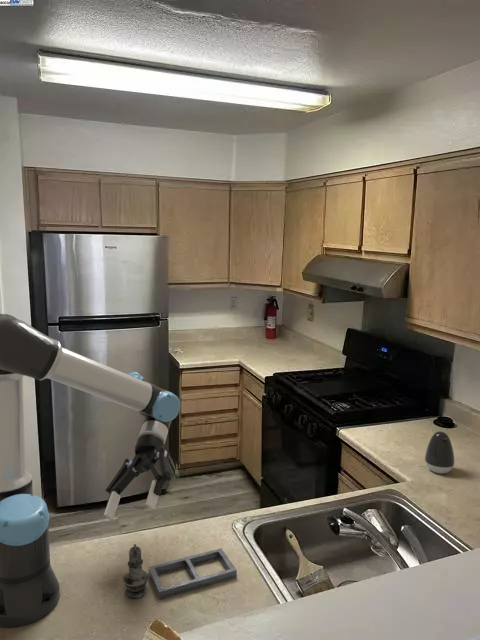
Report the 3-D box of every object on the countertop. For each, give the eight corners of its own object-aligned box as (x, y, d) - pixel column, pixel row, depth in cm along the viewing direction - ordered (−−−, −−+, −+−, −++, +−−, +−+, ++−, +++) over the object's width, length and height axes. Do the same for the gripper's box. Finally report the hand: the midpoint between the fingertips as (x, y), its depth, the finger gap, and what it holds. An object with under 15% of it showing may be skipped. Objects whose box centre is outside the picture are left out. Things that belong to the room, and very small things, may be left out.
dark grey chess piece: (150, 583, 117) (149, 536, 115) (146, 600, 111) (145, 551, 109) (125, 583, 117) (124, 537, 115) (120, 600, 111) (119, 551, 109)
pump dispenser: (431, 477, 175) (433, 436, 173) (420, 465, 186) (422, 427, 184) (459, 476, 176) (461, 436, 174) (446, 464, 186) (448, 426, 184)
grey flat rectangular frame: (159, 600, 111) (159, 591, 111) (148, 574, 120) (148, 567, 120) (236, 577, 119) (236, 570, 119) (221, 555, 128) (221, 548, 128)
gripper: (195, 438, 131) (178, 510, 114) (126, 459, 141) (101, 528, 124) (179, 421, 127) (159, 493, 111) (109, 444, 137) (81, 514, 121)
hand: (128, 512), depth 117 cm, fingers open, 13 cm apart
